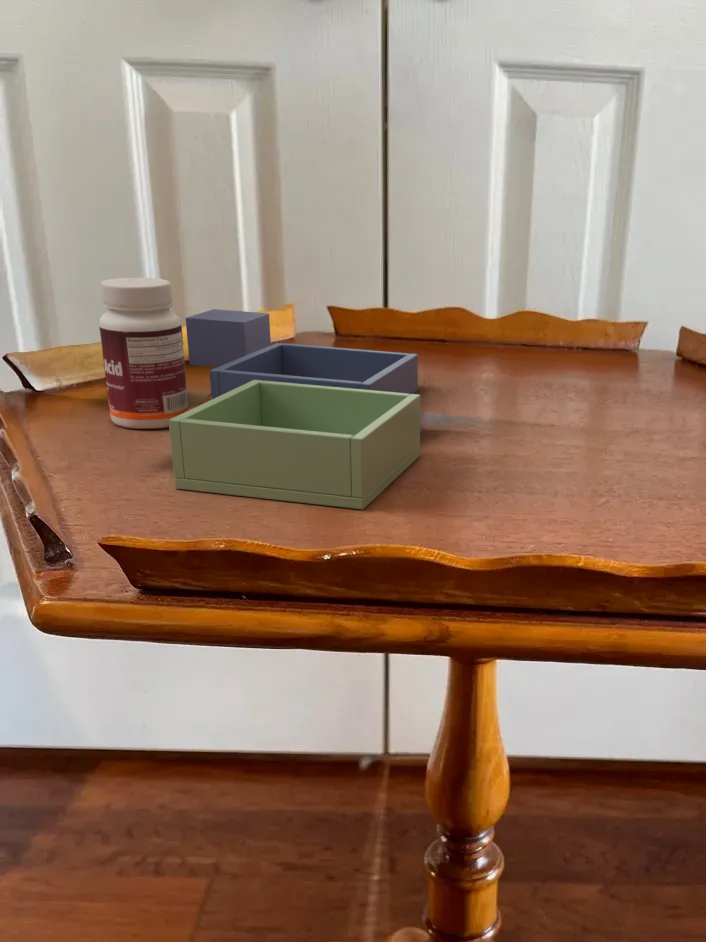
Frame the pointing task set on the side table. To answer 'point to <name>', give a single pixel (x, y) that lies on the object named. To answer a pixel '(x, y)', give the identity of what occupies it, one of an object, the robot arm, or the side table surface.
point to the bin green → (297, 443)
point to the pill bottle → (142, 353)
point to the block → (225, 336)
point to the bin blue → (320, 369)
